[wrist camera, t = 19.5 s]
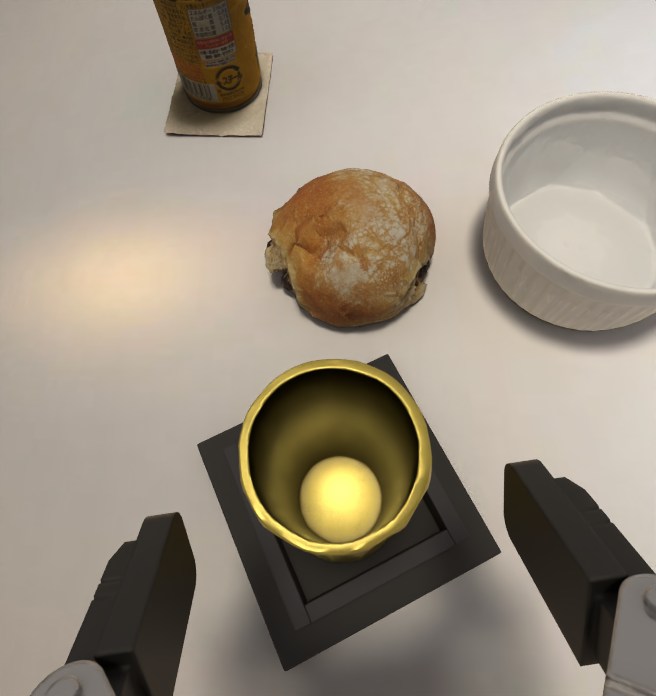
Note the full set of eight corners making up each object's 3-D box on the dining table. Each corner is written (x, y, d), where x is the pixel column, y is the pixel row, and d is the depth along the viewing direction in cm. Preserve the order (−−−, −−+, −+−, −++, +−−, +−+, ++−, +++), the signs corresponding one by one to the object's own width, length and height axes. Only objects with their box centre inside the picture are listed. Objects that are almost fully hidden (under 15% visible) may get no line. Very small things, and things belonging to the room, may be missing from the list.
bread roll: (377, 362, 34) (447, 332, 27) (235, 302, 31) (270, 249, 24) (409, 242, 38) (478, 186, 30) (283, 177, 35) (327, 99, 28)
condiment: (273, 55, 40) (244, -133, 29) (262, 137, 37) (225, -39, 26) (183, 55, 41) (121, -131, 30) (165, 135, 38) (88, -38, 27)
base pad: (286, 668, 25) (278, 682, 22) (201, 447, 29) (185, 436, 26) (496, 552, 26) (514, 552, 23) (386, 359, 30) (390, 340, 28)
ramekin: (604, 149, 36) (661, 61, 29) (724, 305, 31) (822, 240, 24) (433, 209, 34) (452, 130, 28) (530, 381, 30) (580, 334, 23)
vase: (314, 585, 25) (274, 623, 12) (265, 472, 27) (185, 398, 14) (421, 527, 26) (496, 503, 13) (365, 422, 28) (380, 308, 15)
